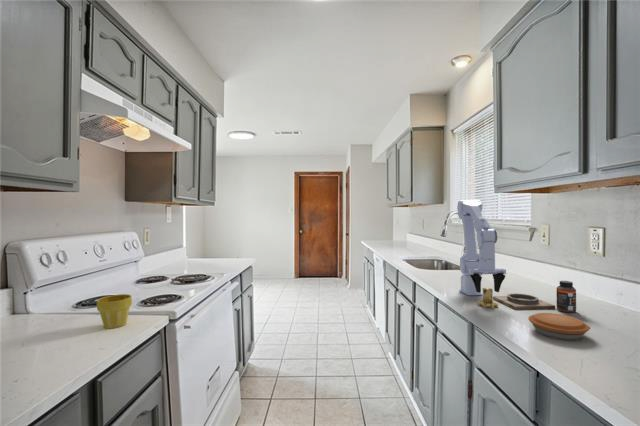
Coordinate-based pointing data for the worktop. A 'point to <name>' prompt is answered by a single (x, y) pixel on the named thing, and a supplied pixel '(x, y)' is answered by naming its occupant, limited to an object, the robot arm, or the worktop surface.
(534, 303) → the collar board
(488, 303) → the planet gear
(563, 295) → the supplement bottle
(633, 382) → the worktop surface
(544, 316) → the pie
